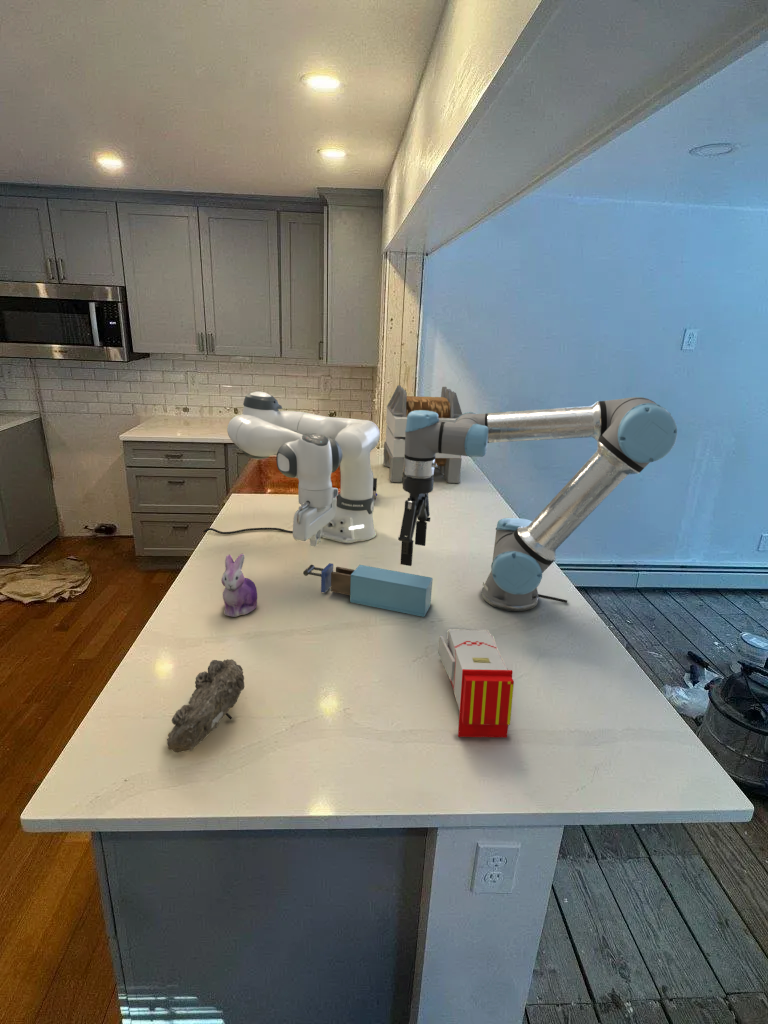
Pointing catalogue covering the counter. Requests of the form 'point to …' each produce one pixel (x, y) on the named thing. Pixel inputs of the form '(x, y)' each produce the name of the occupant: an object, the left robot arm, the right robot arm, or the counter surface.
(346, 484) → the left robot arm
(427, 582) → the light-blue storage box
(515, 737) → the counter surface
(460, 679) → the toy
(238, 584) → the figurine
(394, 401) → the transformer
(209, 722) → the fossil
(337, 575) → the drawer
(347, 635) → the counter surface
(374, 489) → the figurine character
